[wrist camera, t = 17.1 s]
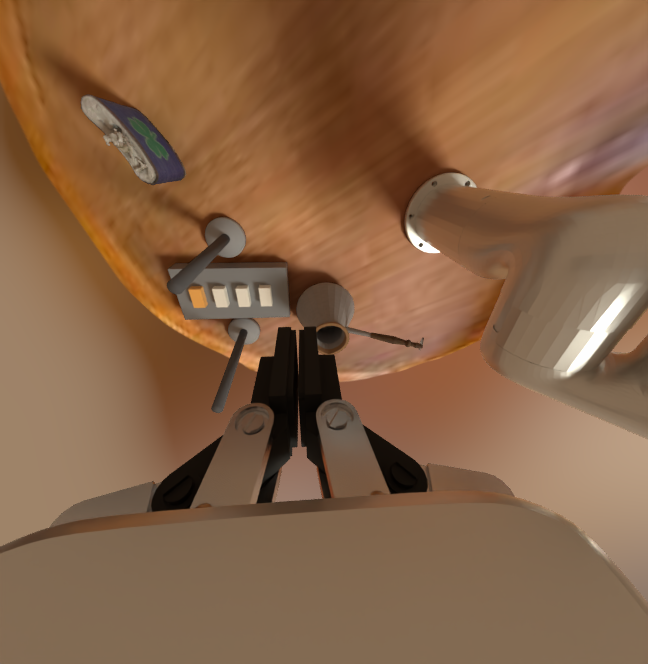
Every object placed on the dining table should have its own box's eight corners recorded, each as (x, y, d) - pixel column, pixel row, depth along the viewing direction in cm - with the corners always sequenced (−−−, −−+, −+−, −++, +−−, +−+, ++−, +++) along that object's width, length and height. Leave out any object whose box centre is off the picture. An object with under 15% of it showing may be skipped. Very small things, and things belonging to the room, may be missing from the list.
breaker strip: (287, 262, 47) (285, 270, 43) (290, 309, 52) (289, 320, 48) (175, 263, 45) (163, 272, 42) (190, 311, 51) (182, 323, 47)
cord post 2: (257, 315, 52) (235, 392, 35) (261, 340, 56) (243, 421, 38) (226, 316, 52) (187, 395, 34) (232, 341, 56) (200, 424, 38)
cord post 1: (242, 216, 42) (199, 255, 24) (248, 255, 45) (214, 313, 28) (203, 216, 41) (129, 256, 24) (212, 255, 45) (154, 315, 27)
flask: (123, 115, 34) (59, 99, 25) (138, 101, 33) (78, 79, 24) (177, 184, 39) (140, 190, 30) (191, 173, 38) (158, 176, 29)
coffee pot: (296, 326, 55) (294, 374, 42) (296, 276, 48) (294, 315, 36) (391, 327, 57) (417, 373, 44) (403, 279, 50) (437, 317, 38)
